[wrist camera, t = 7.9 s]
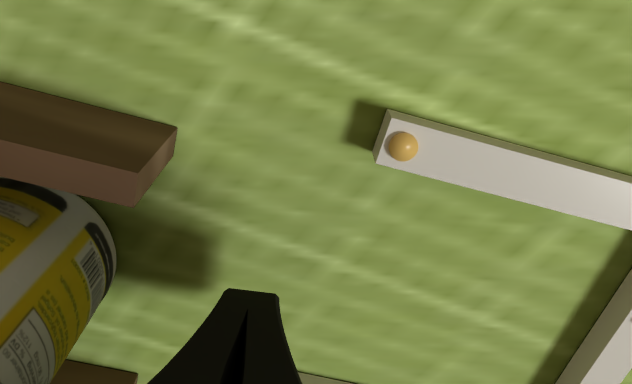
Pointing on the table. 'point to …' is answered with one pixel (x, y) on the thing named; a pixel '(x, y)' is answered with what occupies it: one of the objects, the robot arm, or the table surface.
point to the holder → (81, 166)
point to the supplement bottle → (47, 277)
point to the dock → (530, 187)
